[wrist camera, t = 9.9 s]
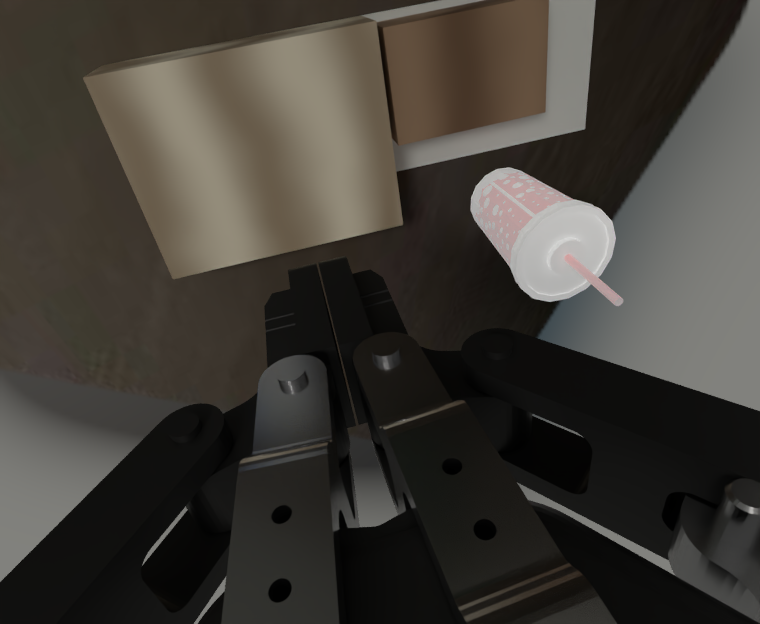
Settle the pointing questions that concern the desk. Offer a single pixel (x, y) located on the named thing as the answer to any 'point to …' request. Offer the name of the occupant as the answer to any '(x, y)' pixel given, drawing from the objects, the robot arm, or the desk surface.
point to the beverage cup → (544, 235)
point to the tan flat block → (255, 142)
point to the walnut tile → (464, 67)
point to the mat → (563, 88)
